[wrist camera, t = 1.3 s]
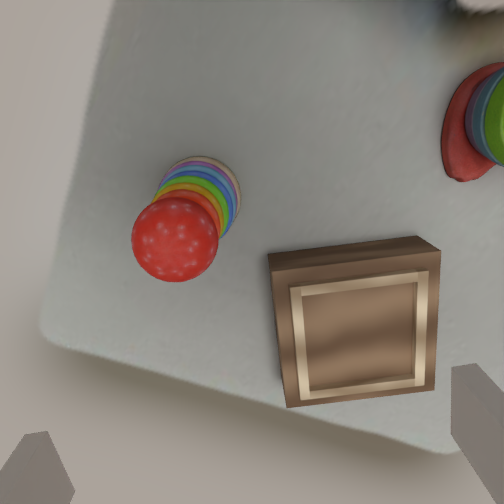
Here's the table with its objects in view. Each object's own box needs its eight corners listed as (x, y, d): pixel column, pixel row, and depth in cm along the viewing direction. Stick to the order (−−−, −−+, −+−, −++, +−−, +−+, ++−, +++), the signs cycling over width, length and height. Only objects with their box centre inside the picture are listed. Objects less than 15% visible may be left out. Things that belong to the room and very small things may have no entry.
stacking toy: (256, 205, 39) (271, 277, 21) (193, 248, 40) (158, 350, 22) (210, 139, 36) (183, 156, 19) (144, 186, 38) (62, 244, 20)
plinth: (267, 254, 40) (272, 275, 35) (417, 235, 40) (445, 253, 35) (281, 378, 46) (287, 413, 40) (413, 362, 46) (438, 395, 40)
